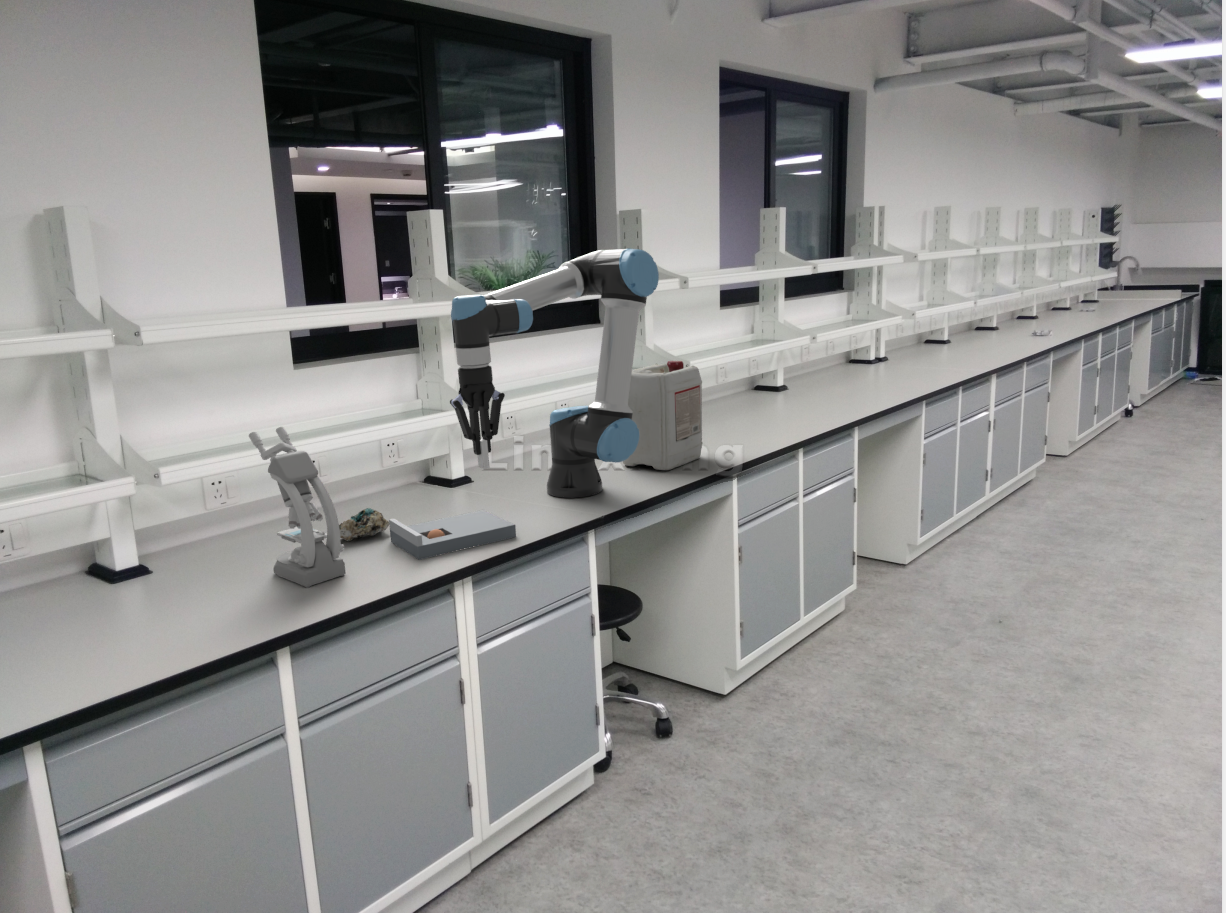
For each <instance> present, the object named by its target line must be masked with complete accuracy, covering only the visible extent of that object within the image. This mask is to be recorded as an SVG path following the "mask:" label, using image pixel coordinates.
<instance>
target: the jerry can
mask: <svg viewBox="0 0 1226 913" xmlns="http://www.w3.org/2000/svg"><path fill="white" fill-rule="evenodd" d="M702 389H703V380H702V376H701V373H700V371H699V368H698V367H697V366H695V365H691V366H687V367H684V362H683V361H682V360H668V361H667V363H661V364H660V363H655V364H652V365H648V366H644V367H639V368H635V369H632V374H631V383H630V391H629V399H628V406H629V407H630V409H631V410H632V411H633V415H632V420H633V421H634V422H635V423H636V424H637V428H638V429H639V442H638V445H637V447H636V449H635V451H634V453H633V454H632V455H630V456H629V458H628V459H626V460H625V461H622V463H623V465H625V466H628V467H636V466H638V465H646V466H652V467H653V469H655V471H656V470H657V471H670V470H673V469H676V468H677V467H681V466H684V465H685V464H689V463H691V462H693V461H696V460H698V459H700V458H701V456H702V455H701V454H702V449H703V390H702Z"/></svg>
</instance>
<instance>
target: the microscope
mask: <svg viewBox="0 0 1226 913" xmlns="http://www.w3.org/2000/svg"><path fill="white" fill-rule="evenodd" d="M275 432H276V434H277V436H278V438H279V439H280V440H281V442H280V443H277V444H275V445H274V446H272V447H270V448H268V449H267V450H266V448H265V447H264V443H263V440H262V438H261V437H260V435H259V433H258V431H251V432H250V433H248V437H249V439H250V441H251V443H252V445H253V446H255V448H256V449H257V450H258V452H259V454H260V458H261V459H262V460H263V461H267V460H269V461H270V463H269V465H268V469H267V472H268V473H269V475H270V479H272V480H274V481H276V484H277V485H278V489H279V491H280V494H281V498H282V500H283V503H284V505H285V507H286V508H288V509H289V510H288V517H287V518H288V527H289V528H288V529H284V530H280V531H278V532H276V536H279V537H280V538H281V539H283V540H286V541H288V542H291V543H294V544H295V543H299V544H301V545H300V546H297V547H295V548H294V549H292V550H289V551H285V552H283V553H281V554H279V555H278V556H277V557H276V561H275V564H274V565H273V570H272V571H273V573H274V574H275V575H277V577H279V578H283V579H286V580H288V581H291V582H293V583H296V584H298V585H301V586H303V587H304V588H310V587H311V586H314V585H317V584H320V583H323V582H326V581H329V580H332V579H335V578H338V577H344V576H345V575H346V565H345V564H346V563H345V561H344V558H342V557H340V553H341V552H343V549H345V545H344V544H342V542H341V538H340V529H339V525H340V522H339V518H338V515H337V514H338V513H337V511H336V508H335V505H334V502H333V500H332V498H331V496H330V493H329V491H328V489H327V487H326V486H325V484H324V482H323V481H322V479H321V478H320V476H319V471H318V468H317V467H316V465H315V463H314V462H313V460H312V459H311V456H310V455H309V452H307V451H305V450H297V448H296V447H295V446H294V444H293V443H292V442H291V440H290V439H291V437H290V435H289V434H288V432H287V430H286V429H285V427H284V426H278V427H277V428H276V430H275ZM280 452H284V453H282V454H279V453H280ZM309 484H310V485H311V486H312V488H313V490H314V492H315V494H316V496H317V498H318V500H319V503H320V505H321V508H322V511H323V514H324V515H323V514H322V513H321V512H320V511H319V508H318V507H317V506H316V504H314V502H311V501H312V500H313V498H314V496H313V494H312V490H311V488H310V485H309ZM324 516H325V521H326V532H325V530H323V531H322V530H318V529H315V528H313V524H312V522H315V521H317V522H321V521H322V520H324ZM325 539H326V541H325V542H326V543H324V542H323V541H324V540H325Z"/></svg>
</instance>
